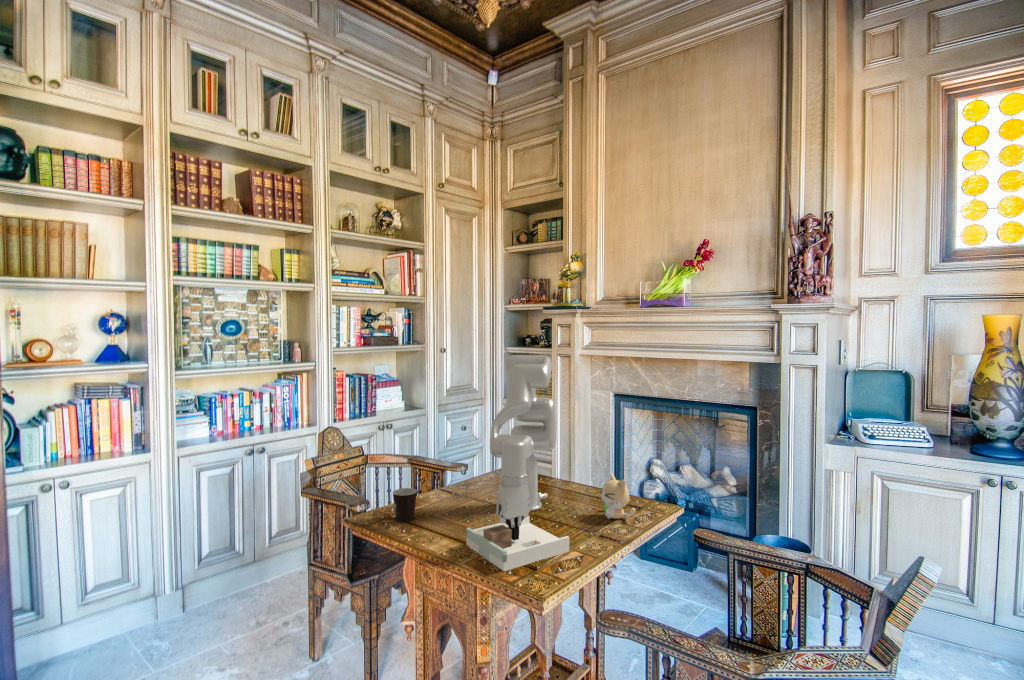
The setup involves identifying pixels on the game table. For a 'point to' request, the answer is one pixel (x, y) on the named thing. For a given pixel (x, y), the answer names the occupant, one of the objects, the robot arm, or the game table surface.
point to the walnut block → (499, 536)
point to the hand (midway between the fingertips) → (513, 538)
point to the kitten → (615, 498)
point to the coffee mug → (404, 504)
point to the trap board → (518, 546)
